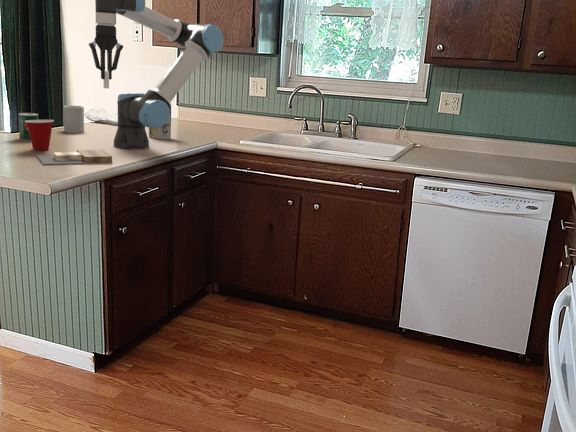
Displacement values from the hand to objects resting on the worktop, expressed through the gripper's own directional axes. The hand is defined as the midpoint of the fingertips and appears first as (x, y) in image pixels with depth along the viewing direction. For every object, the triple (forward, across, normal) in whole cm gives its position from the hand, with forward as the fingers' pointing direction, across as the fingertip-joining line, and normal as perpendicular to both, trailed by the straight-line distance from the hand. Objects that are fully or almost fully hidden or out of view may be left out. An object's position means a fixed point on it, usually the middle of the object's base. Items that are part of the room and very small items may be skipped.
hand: (106, 88), depth 235 cm
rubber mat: (+26, +20, +10) cm, 34 cm away
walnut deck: (+26, +7, +10) cm, 29 cm away
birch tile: (+26, +17, +10) cm, 32 cm away
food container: (+27, -22, -90) cm, 96 cm away
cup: (+27, +1, -61) cm, 67 cm away
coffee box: (+27, -35, -40) cm, 59 cm away
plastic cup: (+27, +23, -14) cm, 38 cm away
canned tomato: (+27, +24, -39) cm, 53 cm away
